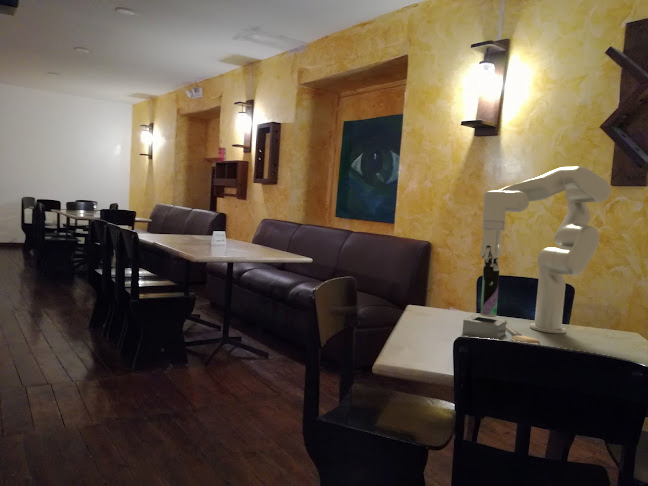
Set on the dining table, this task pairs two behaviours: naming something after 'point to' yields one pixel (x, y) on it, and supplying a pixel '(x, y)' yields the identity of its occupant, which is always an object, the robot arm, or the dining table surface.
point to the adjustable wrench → (512, 330)
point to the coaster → (525, 339)
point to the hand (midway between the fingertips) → (490, 276)
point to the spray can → (490, 293)
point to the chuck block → (484, 326)
